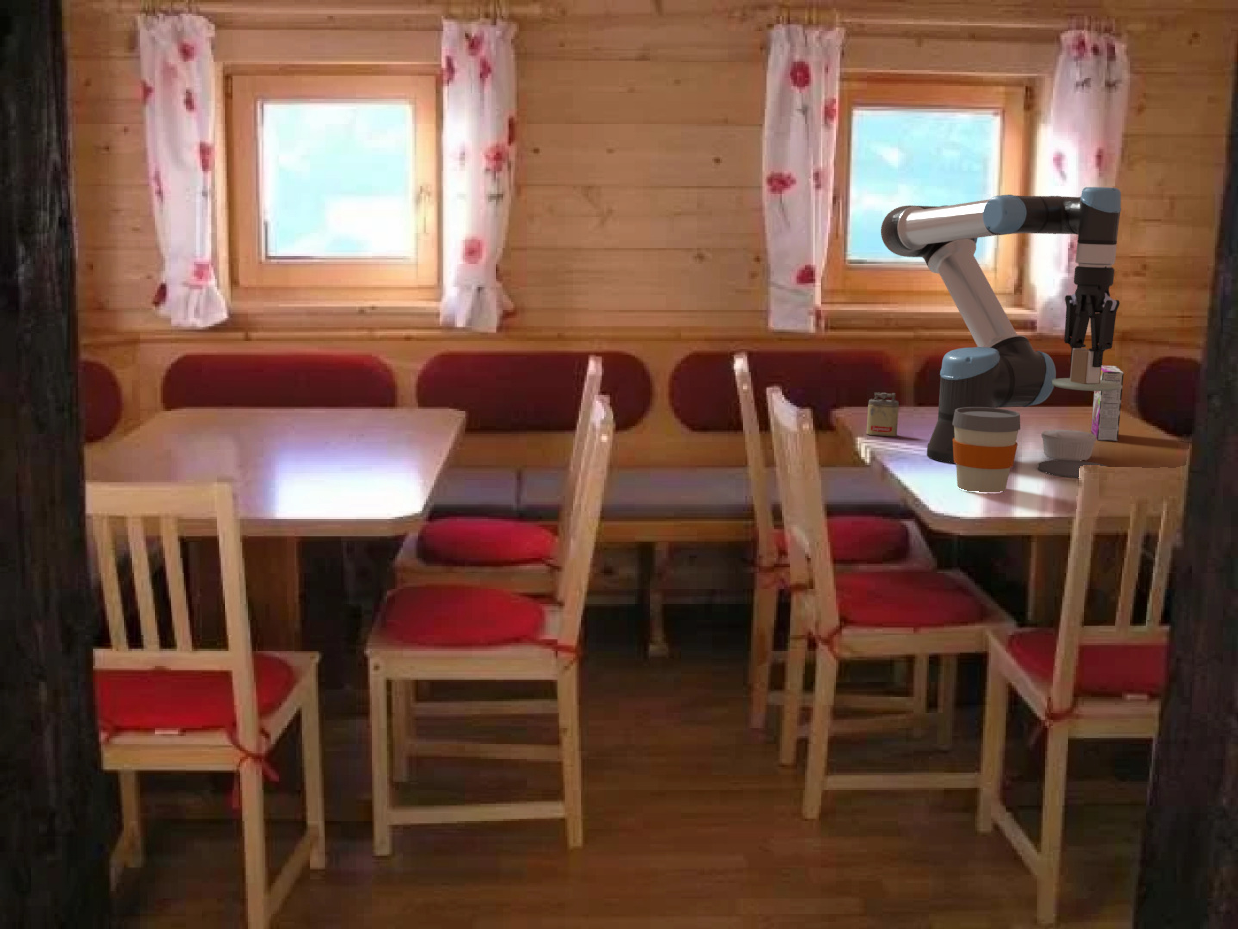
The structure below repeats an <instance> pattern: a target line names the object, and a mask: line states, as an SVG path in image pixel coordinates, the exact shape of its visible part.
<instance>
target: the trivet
mask: <svg viewBox="0 0 1238 929" xmlns="http://www.w3.org/2000/svg"><path fill="white" fill-rule="evenodd" d="M1037 464H1038V465H1037V470H1039V471H1040V472H1042V473H1044V472H1047V473H1046V474H1048V473H1050V474H1049V475H1052V474H1053V476H1056V475H1057V477H1063V478H1071V479H1072V478H1073V479H1079V478H1078V477H1079V468H1080V466H1083V465H1100V466H1107V464H1101V463H1097V462H1093V461H1092V462H1091V461H1074V460H1056V459H1052V460H1044V461H1040V462H1039V463H1037Z"/></svg>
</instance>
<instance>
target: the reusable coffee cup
mask: <svg viewBox="0 0 1238 929" xmlns="http://www.w3.org/2000/svg"><path fill="white" fill-rule="evenodd" d="M952 425H953V426H954V433H955V438H953V455H954V462H955V463H954V464H955V467H956V468H955V469H956V484H957V485H956V487H957V486H958V487H959V488H961V489H964V490H967V491H979V492H1000V491H1005V492H1006V489H1007V484H1008V480H1009V474H1010V470H1011V468H1012V467H1013V466H1014V463H1015V459H1016V458H1015V457H1016V453H1017V449H1018V442H1017V439H1018V434H1019V431H1020V430H1021V414H1020V412H1018V411H1015V410H1011V409H1004V408H988V407H964V408H958V409H955V412H954V418H953V423H952Z"/></svg>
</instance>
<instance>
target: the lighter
mask: <svg viewBox="0 0 1238 929" xmlns="http://www.w3.org/2000/svg"><path fill="white" fill-rule="evenodd" d="M879 398H881V399H879ZM887 398H891V400H890V399H887ZM899 407H900V406H899V401H898V400H896V393H895V392H892V393H887V392H874V398H870V399H869V400H868V406H867V417H866V418H867V419H866V432H865V433H866V435H870V436H881V437H882V436H883V437H897V436H898V421H899V409H900V408H899Z"/></svg>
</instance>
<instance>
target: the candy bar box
mask: <svg viewBox="0 0 1238 929" xmlns="http://www.w3.org/2000/svg"><path fill="white" fill-rule="evenodd" d="M1124 374H1125V373H1124V372H1123V371H1122V370H1121V369H1120V368H1119V367H1118V366H1116V365H1103V364H1102V366H1101V377H1100V380H1105V381H1111V382H1115V383H1118V384H1119V389H1118V390H1112V391H1093V392H1094V393H1093V403H1092V415H1091V416H1092V417H1091V429H1090V433H1092V434H1094V435H1096V441H1101V442H1102V441H1104V442H1119V434H1120V433H1119V432H1120V430H1119V429H1120V420H1121V408H1122V407H1121V406H1122V399H1123V398H1122V396H1123V383H1124V376H1125V375H1124Z"/></svg>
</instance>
